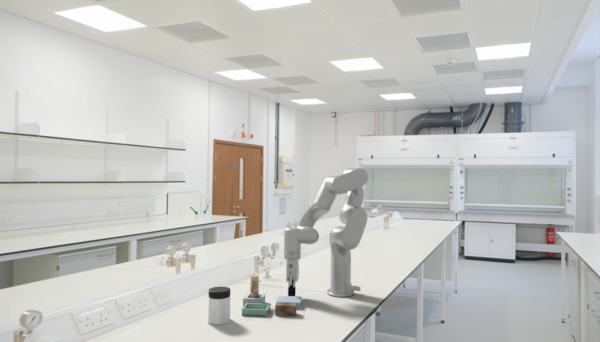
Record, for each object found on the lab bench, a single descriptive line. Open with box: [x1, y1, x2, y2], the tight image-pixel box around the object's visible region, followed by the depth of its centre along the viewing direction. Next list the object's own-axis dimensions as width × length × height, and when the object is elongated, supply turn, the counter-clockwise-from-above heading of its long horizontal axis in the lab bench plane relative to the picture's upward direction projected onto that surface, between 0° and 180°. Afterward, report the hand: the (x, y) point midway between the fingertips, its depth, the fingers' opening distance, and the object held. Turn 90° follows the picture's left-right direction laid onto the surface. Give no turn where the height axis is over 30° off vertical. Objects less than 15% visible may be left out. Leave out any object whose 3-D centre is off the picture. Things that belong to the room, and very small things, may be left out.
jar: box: [207, 286, 231, 326], centre depth 155 cm, size 9×8×12 cm
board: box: [275, 295, 303, 310], centre depth 176 cm, size 10×9×3 cm
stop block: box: [274, 301, 297, 317], centre depth 164 cm, size 8×4×4 cm, turn 85°
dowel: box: [249, 275, 260, 298], centre depth 177 cm, size 4×4×12 cm
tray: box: [241, 303, 271, 317], centre depth 166 cm, size 10×8×2 cm
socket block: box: [242, 292, 266, 308], centre depth 176 cm, size 8×8×4 cm
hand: (291, 295), depth 186 cm, fingers closed
